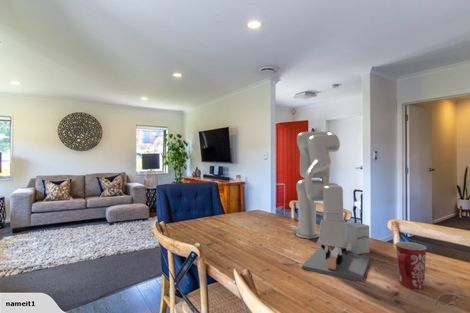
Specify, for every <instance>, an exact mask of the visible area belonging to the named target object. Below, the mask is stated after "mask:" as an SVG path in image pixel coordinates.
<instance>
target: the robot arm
mask: <svg viewBox="0 0 470 313" xmlns="http://www.w3.org/2000/svg"><path fill="white" fill-rule="evenodd" d="M296 143H297V147H298V151H299V175H300V177H302V178H303V179H300V180H298V181H297V183H296V193H297V203H298V206H297V207H298V209H297V210H298V226H295V225H292V227H291V230H292V231H296V232H295V235H296V236H297V237H298V238H301V239H316V238H317V241H316V245H318V246H319V247H320V248H322V249H323V250H324V251H325V253H326V260H327V258H328V256H329V255H330V254H331V252H330V250H331V249H330V247H332V248H335V247H338V255H337V263H338V265H340V264H341V263H342V254H343V253H344V252H346V251H348V250H350V249H352V246H351V244H350V243H349V241H348V235H347V227H346V224H347V223H346V220H345V219H344V189H343V187H342V186H341V185H339V184H338V183H335V182H330V172H331V171H330V166H331V162H332V161H331V158H330V157H331V156H330V154H329V153H336V152H338V151H339V149H340V146H341V143H340V138H339V136H337V134H335V133H333V132H331V131H303V132H299V133H298V134H297V136H296ZM315 202H322V211H321V212H319V216H320V217H322V218H321V220H320V225H319V232H318V231H317V206H316V203H315ZM346 245H347V247H346Z"/></svg>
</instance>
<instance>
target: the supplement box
mask: <svg viewBox="0 0 470 313" xmlns="http://www.w3.org/2000/svg"><path fill="white" fill-rule="evenodd" d="M346 227H347V235H348V241H349V243H350V244H351V246H352V249H350V250H349V253H350V252H351V253H352V254H357V255H364V254H370V225H368V224H364V223H361V222H350V223H346Z"/></svg>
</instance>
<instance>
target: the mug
mask: <svg viewBox="0 0 470 313" xmlns="http://www.w3.org/2000/svg"><path fill="white" fill-rule="evenodd" d="M395 248H396V257H397V259H396V260H397V269H398V282H399V284H400V285H401V286H403V287H406V288H409V289H416V290H420V289H421V290H422V289H424V288H425V277H426V275H425V274H426V273H425V272H426V258H427V257H426V256H427V255H426V254H427V246H426V245H423V244H420V243H416V242H412V241H411V242H410V241H398V242H395ZM423 287H424V288H423Z"/></svg>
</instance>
